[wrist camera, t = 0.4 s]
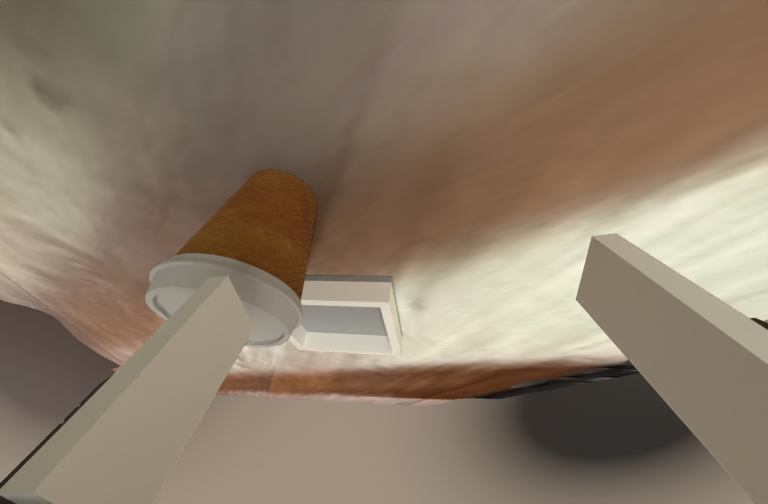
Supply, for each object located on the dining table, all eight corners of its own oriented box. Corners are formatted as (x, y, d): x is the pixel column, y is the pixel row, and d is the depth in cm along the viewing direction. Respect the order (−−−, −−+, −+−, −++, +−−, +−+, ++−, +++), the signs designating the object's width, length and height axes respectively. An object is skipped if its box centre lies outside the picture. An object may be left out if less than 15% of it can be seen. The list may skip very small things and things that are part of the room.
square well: (258, 274, 36) (247, 298, 34) (391, 276, 33) (389, 302, 31) (304, 330, 49) (298, 349, 47) (402, 334, 47) (400, 355, 44)
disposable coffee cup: (349, 230, 28) (320, 350, 20) (266, 237, 30) (212, 348, 22) (307, 141, 21) (238, 277, 13) (203, 161, 23) (93, 285, 15)
